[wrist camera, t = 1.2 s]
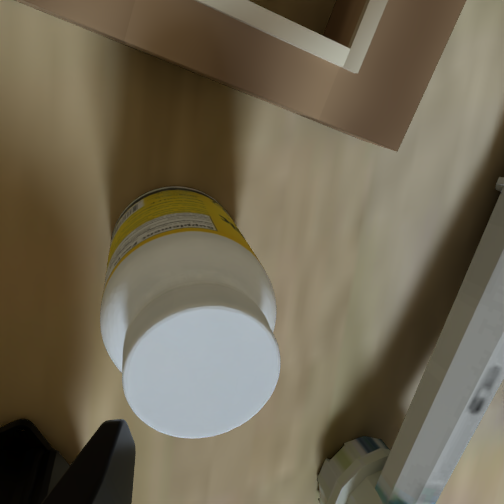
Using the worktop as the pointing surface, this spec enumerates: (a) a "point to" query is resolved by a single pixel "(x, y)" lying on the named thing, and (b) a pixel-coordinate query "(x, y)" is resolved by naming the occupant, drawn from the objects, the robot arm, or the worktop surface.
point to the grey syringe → (436, 396)
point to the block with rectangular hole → (291, 53)
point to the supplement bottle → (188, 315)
